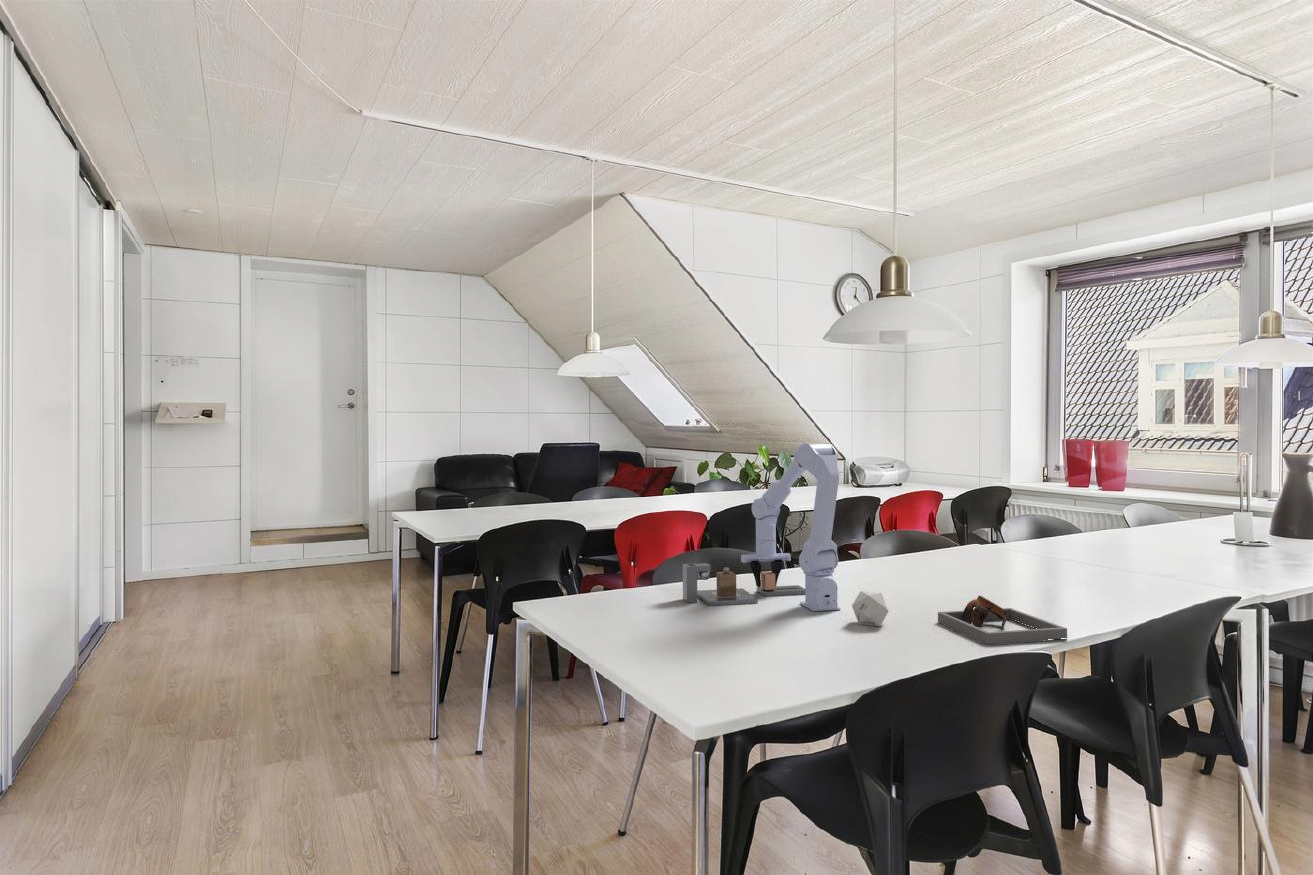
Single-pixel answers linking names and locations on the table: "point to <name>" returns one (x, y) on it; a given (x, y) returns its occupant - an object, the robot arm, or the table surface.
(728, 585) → the block
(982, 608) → the brown arched piece
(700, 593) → the press
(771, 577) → the peach small block
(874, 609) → the die
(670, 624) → the table surface
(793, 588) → the base
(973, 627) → the tray
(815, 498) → the robot arm
